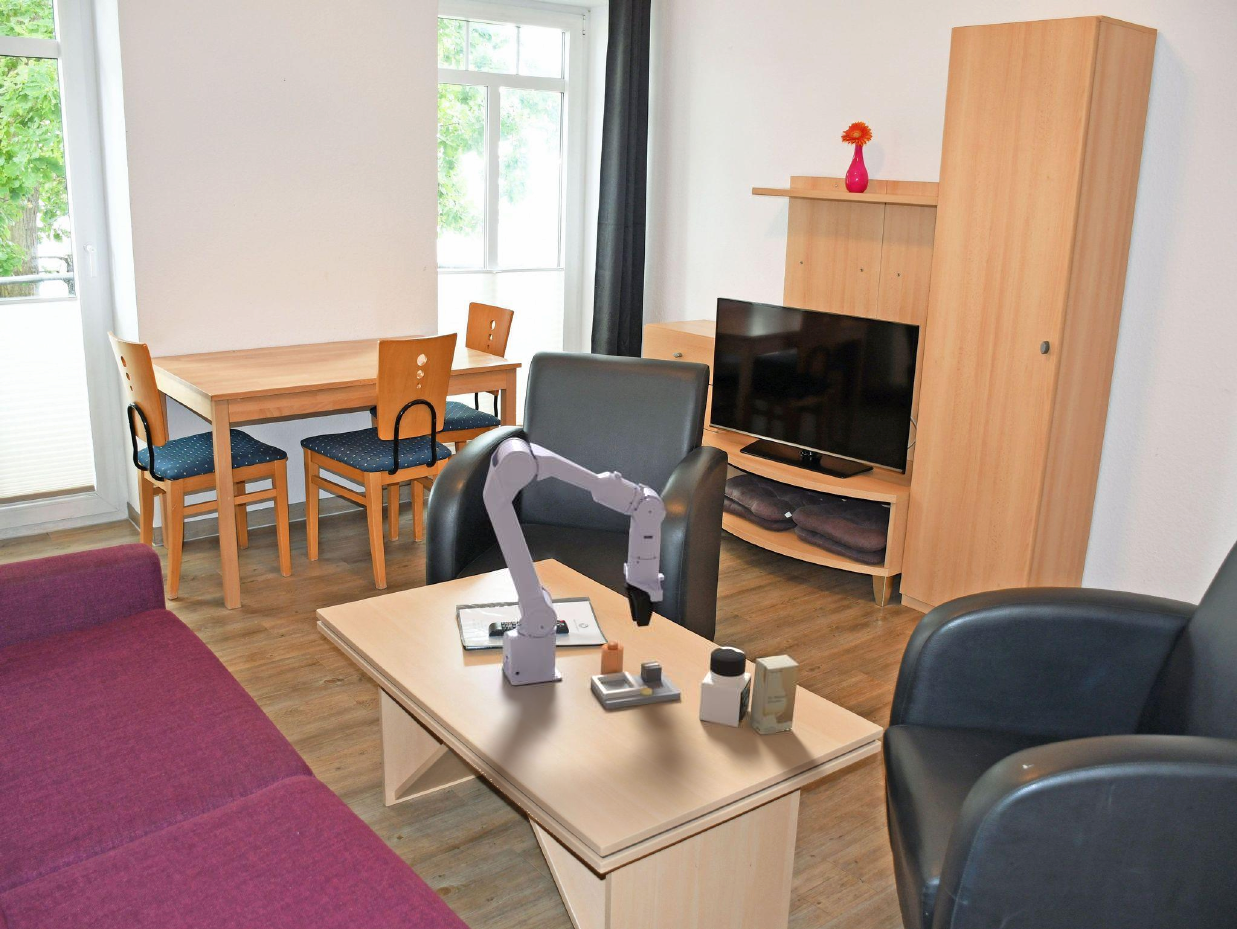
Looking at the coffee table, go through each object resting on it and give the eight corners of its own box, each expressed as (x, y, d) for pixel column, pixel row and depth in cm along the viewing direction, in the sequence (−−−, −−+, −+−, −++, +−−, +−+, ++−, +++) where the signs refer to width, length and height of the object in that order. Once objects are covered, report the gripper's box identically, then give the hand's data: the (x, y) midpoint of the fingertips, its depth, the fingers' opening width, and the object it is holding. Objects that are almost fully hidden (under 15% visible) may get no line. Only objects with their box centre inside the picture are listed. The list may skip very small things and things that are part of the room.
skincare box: (761, 736, 182) (767, 669, 179) (748, 723, 186) (753, 658, 183) (794, 729, 185) (800, 664, 182) (780, 717, 189) (786, 653, 185)
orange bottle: (604, 683, 198) (606, 649, 197) (597, 674, 202) (598, 640, 200) (625, 681, 200) (626, 647, 198) (617, 671, 203) (619, 638, 201)
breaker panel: (606, 709, 189) (607, 697, 188) (590, 687, 197) (590, 676, 196) (680, 698, 194) (681, 687, 193) (662, 677, 202) (662, 667, 201)
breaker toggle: (645, 681, 197) (646, 668, 196) (640, 675, 199) (641, 662, 198) (661, 679, 198) (661, 666, 197) (655, 673, 200) (656, 660, 199)
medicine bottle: (738, 728, 184) (744, 664, 181) (698, 720, 187) (702, 656, 184) (748, 710, 191) (754, 647, 188) (709, 701, 193) (714, 639, 190)
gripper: (680, 566, 193) (675, 636, 197) (649, 539, 206) (645, 605, 210) (643, 569, 191) (639, 640, 194) (614, 542, 204) (611, 609, 207)
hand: (640, 623), depth 202 cm, fingers closed
